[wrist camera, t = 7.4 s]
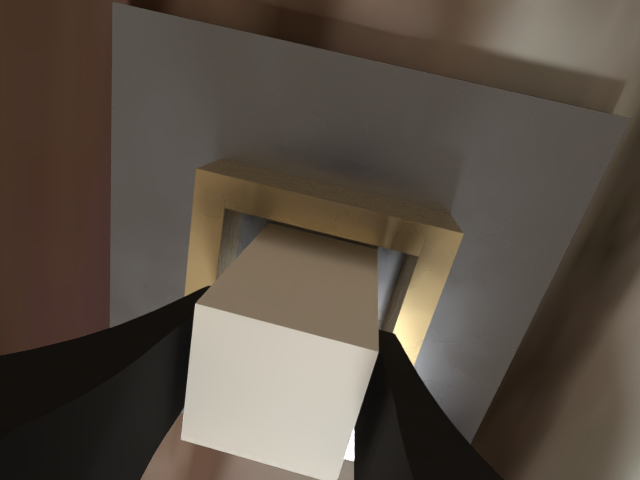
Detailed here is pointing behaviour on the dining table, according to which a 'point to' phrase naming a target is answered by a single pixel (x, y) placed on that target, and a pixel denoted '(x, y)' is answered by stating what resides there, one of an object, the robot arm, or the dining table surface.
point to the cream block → (285, 352)
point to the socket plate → (347, 185)
